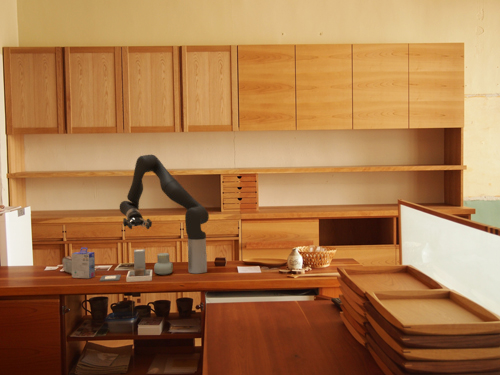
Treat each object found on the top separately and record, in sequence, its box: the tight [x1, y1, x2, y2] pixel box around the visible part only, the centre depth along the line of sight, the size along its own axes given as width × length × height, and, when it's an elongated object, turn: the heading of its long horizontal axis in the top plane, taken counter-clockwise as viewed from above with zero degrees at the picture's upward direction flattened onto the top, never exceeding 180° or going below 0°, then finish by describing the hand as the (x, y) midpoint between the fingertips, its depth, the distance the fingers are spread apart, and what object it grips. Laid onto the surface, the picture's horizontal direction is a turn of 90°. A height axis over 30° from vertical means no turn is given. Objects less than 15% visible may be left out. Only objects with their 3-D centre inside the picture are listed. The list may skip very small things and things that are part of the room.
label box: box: [133, 248, 147, 276], centre depth 226 cm, size 5×5×13 cm
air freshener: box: [153, 252, 174, 276], centre depth 231 cm, size 11×8×10 cm
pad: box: [99, 274, 122, 282], centre depth 223 cm, size 9×9×1 cm
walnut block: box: [134, 268, 144, 276], centre depth 220 cm, size 4×4×5 cm
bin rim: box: [125, 269, 153, 283], centre depth 224 cm, size 12×13×2 cm
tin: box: [61, 255, 72, 275], centre depth 235 cm, size 15×3×8 cm, turn 47°
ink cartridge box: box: [71, 246, 96, 279], centre depth 226 cm, size 10×6×14 cm, turn 79°
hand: (139, 227), depth 233 cm, fingers open, 8 cm apart
